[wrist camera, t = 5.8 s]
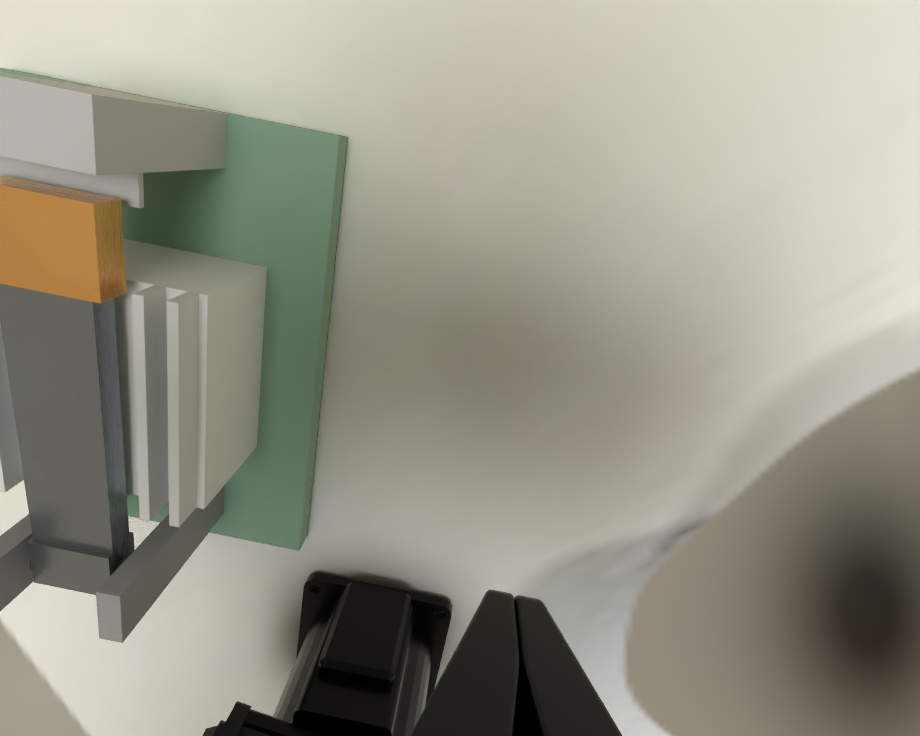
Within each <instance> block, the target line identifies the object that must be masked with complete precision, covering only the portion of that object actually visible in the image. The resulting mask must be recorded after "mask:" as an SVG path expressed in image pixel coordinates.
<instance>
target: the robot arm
mask: <svg viewBox="0 0 920 736" xmlns="http://www.w3.org/2000/svg"><path fill="white" fill-rule="evenodd" d="M314 584H316V585H319V586H320V587H317V586H315V585H314ZM437 610H443V612H440V611H437ZM451 614H452V605H451V603H450V602H449V601H448V600H446V599H443V598H438V597H433V596H428V595H423V594H418V593H413V592H408V591H403V590H398V589H393V588H388V587H384V586H379V585H374V584H369V583H364V582H359V581H354V580H349V579H344V578H339V577H334V576H329V575H324V574H319V573H314V574H311V575H310V576H309V577H308V579H307V581H306V583H305V585H304V591H303V601H302V611H301V620H300V630H299V640H298V649H297V659H296V662H295V664H294V667H293V669H292V671H291V674H290V676H289V679H288V681H287V684H286V686H285V688H284V691H283V693H282V696H281V698H280V701H279V703H278V705H277V708H276V710H275V713H274V715H273V717H272V716H269V715H266V714H263V713H260V712H257V711H255V710H252V709H251V706H249V705H246V704H244V703H241V702H238V701H237V702H236V704H235V706H234V708H233V710H232V712H231V713H230V715H229V717H228V719H227V721H226V722H225V721H222V720H221V721H220V723H219V725H218V726H215V727H211V728H207V729H206V730H205V732H204V734H203V736H622V734H621V733H620V731H619V729H618V728H617V726H616V724H615V723H614V721H613V719H612V718H611V716H610V714H609V712H608V711H607V709H606V707H605V706H604V704H603V702H602V701H601V699H600V697H599V696H598V694H597V692H596V691H595V689H594V687H593V686H592V684H591V682H590V680H589V679H588V677H587V675H586V674H585V672H584V670H583V669H582V667H581V665H580V664H579V662H578V660H577V659H576V657H575V655H574V654H573V652H572V650H571V648H570V647H569V645H568V643H567V642H566V640H565V638H564V637H563V635H562V633H561V632H560V630H559V628H558V627H557V625H556V623H555V622H554V620H553V618H552V616H551V615H550V613H549V611H548V610H547V608H546V606H545V605H544V603H543V602H542V601H541V600H539V599H535V598H530V597H525V596H520V595H518V596H516V597H515V598H514V597H513V595H512V594H510V593H506V592H501V591H496V590H488V591H487V592H486V594H485V595H484V597H483V599H482V601H481V603H480V605H479V607H478V609H477V611H476V612H475V614H474V616H473V618H472V620H471V622H470V624H469V626H468V627H467V629H466V631H465V633H464V635H463V637H462V639H461V641H460V642H459V644H458V646H457V648H456V650H455V652H454V654H453V656H452V657H451V659H450V661H449V663H448V665H447V667H446V669H445V671H444V672H443V674H442V676H441V678H440V680H439V682H438V684H437V686H436V687H435V683H436V679H437V675H438V670H439V666H440V662H441V658H442V653H443V649H444V645H445V641H446V636H447V632H448V628H449V624H450V620H451ZM434 687H435V689H434Z"/></svg>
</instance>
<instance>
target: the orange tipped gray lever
mask: <svg viewBox="0 0 920 736" xmlns="http://www.w3.org/2000/svg"><path fill="white" fill-rule="evenodd" d="M123 294H126V275H125V257H124V238H123V220H122V202H121V199H117V198H112V197H107V196H102V195H97V194H92V193H87V192H82V191H77V190H72V189H67V188H62V187H57V186H52V185H47V184H42V183H37V182H32V181H27V180H22V179H17V178H12V177H7V176H2V175H0V324H1V330H2V337H3V343H4V350H5V357H6V363H7V370H8V377H9V383H10V390H11V397H12V403H13V410H14V416H15V423H16V430H17V436H18V443H19V450H20V456H21V463H22V470H23V476H24V483H25V490H26V496H27V503H28V509H29V516H30V523H31V529H32V536H33V538H32V539H31V540H30V541H29V542H28V548H29V555H30V569H31V571H32V574H33V580H34V582H35V583H40V584H45V585H50V586H55V587H59V588H64V589H69V590H74V591H79V592H84V593H89V594H94V595H96V591H97V590H98V589H99V588H100V587H101V586H102V585H103V584H104V583H105V582H106V581H107V579H108V578H109V577H110V576H111V575H112V574H113V573H114V572H115V571H116V570H117V569H118V568H119V567H120V566H121V564H122V563H123V562H124V561H125V560H126V559H127V558H128V557H129V556H130V555H131V554H132V553H133V552H134V538H133V533H132V532H129V525H128V509H127V494H126V478H125V463H124V447H123V432H122V416H121V401H120V385H119V370H118V354H117V339H116V323H115V308H114V298H116V297H118V296H121V295H123Z"/></svg>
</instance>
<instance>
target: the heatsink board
mask: <svg viewBox="0 0 920 736" xmlns="http://www.w3.org/2000/svg"><path fill="white" fill-rule="evenodd" d="M347 140H348V137H345V136H340V135H335V134H330V133H325V132H320V131H315V130H310V129H305V128H300V127H295V126H290V125H285V124H280V123H275V122H270V121H265V120H260V119H255V118H250V117H245V116H240V115H235V114H230V113H225V112H220V111H215V110H210V109H205V108H200V107H195V106H190V105H185V104H180V103H175V102H170V101H165V100H160V99H155V98H150V97H145V96H140V95H135V94H130V93H125V92H120V91H115V90H110V89H105V88H100V87H95V86H90V85H85V84H80V83H75V82H70V81H65V80H60V79H55V78H50V77H45V76H40V75H35V74H30V73H25V72H20V71H15V70H10V69H4V68H0V175H2V176H7V177H12V178H17V179H22V180H27V181H32V182H37V183H42V184H47V185H52V186H57V187H62V188H67V189H72V190H77V191H82V192H87V193H92V194H97V195H102V196H107V197H112V198H117V199H121V202H122V220H123V238H124V257H125V275H126V294H123V295H121V296H118V297H116V298H114V308H115V323H116V339H117V354H118V370H119V385H120V401H121V416H122V432H123V447H124V463H125V478H126V494H127V509H128V516H131V517H136V518H140V520H145V521H150V520H151V521H156V522H161V523H160V524H159V525H158V526H157V527H156V528H155V529H154V530H153V531H152V532H151V533H150V534H149V535H148V537H147V538H146V539H145V540H144V541H143V542H142V543H141V544H140V545H139V546H138V547H137V548H136V549H135V550H134V552H133V553H132V554H131V555H130V556H129V557H128V558H127V559H126V560H125V561H124V562H123V563H122V564H121V566H120V567H119V568H118V569H117V570H116V571H115V572H114V573H113V574H112V575H111V576H110V577H109V578H108V579H107V581H106V582H105V583H104V584H103V585H102V586H101V587H100V588H99V589H98V590H97V591H96V599H97V613H98V626H99V638H101V639H106V640H111V641H116V642H121V643H123V642H124V640H125V639H126V638H127V636H128V635H129V634H130V633H131V631H132V630H133V629H134V627H135V626H136V625H137V624H138V622H139V621H140V620H141V618H142V617H143V616H144V615H145V613H146V612H147V611H148V610H149V608H150V607H151V606H152V604H153V603H154V602H155V601H156V599H157V598H158V597H159V595H160V594H161V593H162V592H163V590H164V589H165V588H166V586H167V585H168V584H169V583H170V581H171V580H172V579H173V577H174V576H175V575H176V574H177V572H178V571H179V570H180V569H181V567H182V566H183V565H184V563H185V562H186V561H187V560H188V558H189V557H190V556H191V554H192V553H193V552H194V551H195V549H196V548H197V547H198V545H199V544H200V543H201V542H202V540H203V539H204V538H205V537H206V535H207V534H208V533H209V532H210V533H215V534H220V535H225V536H230V537H235V538H240V539H245V540H250V541H255V542H260V543H265V544H270V545H275V546H280V547H284V548H289V549H294V550H300V548H301V546H302V544H303V542H304V540H305V538H306V536H307V532H308V522H309V512H310V502H311V493H312V483H313V473H314V463H315V453H316V444H317V434H318V424H319V414H320V404H321V395H322V385H323V375H324V365H325V355H326V346H327V336H328V326H329V316H330V306H331V297H332V287H333V277H334V267H335V257H336V248H337V238H338V228H339V218H340V208H341V199H342V189H343V179H344V169H345V159H346V150H347ZM22 480H24V476H23V470H22V463H21V456H20V450H19V443H18V436H17V430H16V423H15V416H14V410H13V403H12V397H11V390H10V383H9V377H8V370H7V363H6V357H5V350H4V343H3V337H2V330H1V324H0V491H2V492H6V491H8V490H9V489H11V488H12V487H14V486H15V485H17V484H18V483H20V482H21V481H22ZM32 538H33V536H32V529H31V523H30V516H29V515H27V516H26V517H25V518H23V519H22V520H21V521H19V522H18V523H17V524H15V525H14V526H13V527H11V528H10V529H9V530H7V531H6V532H5V533H4V534H2V535H1V536H0V611H1V610H2V609H3V608H4V607H5V606H7V605H8V604H9V603H10V602H11V601H12V600H13V599H14V598H15V597H16V596H18V595H19V594H20V593H21V592H22V591H23V590H24V589H25V588H26V587H27V586H29V585H30V584H31V583H32V582H33V581H34V580H33V574H32V571H31V569H30V555H29V548H28V542H29V541H30V540H31V539H32Z"/></svg>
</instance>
